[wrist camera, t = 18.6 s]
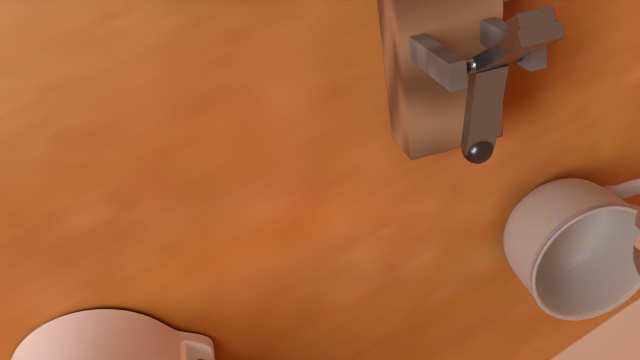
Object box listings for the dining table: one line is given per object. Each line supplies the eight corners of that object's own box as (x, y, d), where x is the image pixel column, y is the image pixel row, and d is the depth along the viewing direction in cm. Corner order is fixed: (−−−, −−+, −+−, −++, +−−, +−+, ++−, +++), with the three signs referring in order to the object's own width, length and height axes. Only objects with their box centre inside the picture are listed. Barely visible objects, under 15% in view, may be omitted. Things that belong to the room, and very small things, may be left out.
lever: (473, 56, 37) (498, 157, 38) (425, 68, 37) (451, 169, 37) (568, 1, 26) (604, 146, 26) (501, 16, 26) (538, 164, 26)
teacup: (507, 283, 53) (555, 343, 46) (469, 203, 48) (519, 258, 41) (636, 208, 52) (705, 258, 45) (613, 119, 47) (689, 160, 40)
